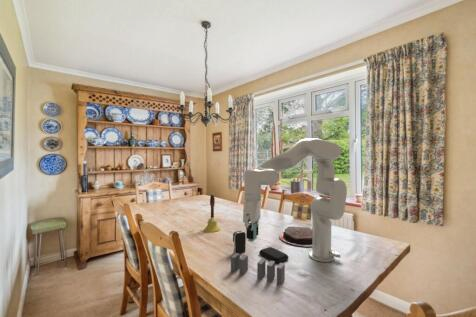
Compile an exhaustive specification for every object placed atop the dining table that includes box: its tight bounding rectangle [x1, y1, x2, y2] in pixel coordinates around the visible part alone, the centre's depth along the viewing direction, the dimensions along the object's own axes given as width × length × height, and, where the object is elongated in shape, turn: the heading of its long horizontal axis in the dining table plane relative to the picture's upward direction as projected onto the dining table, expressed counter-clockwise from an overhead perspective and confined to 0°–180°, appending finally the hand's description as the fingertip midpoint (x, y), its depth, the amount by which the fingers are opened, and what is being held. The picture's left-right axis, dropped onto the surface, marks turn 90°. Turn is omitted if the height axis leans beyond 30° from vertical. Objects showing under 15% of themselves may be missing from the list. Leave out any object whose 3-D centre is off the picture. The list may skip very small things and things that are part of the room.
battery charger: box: [232, 230, 247, 254], centre depth 130 cm, size 7×4×11 cm, turn 122°
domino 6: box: [276, 262, 286, 286], centre depth 100 cm, size 2×5×7 cm, turn 153°
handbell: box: [203, 194, 222, 234], centre depth 167 cm, size 12×12×25 cm
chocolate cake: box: [278, 226, 312, 248], centre depth 150 cm, size 28×28×7 cm
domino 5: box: [266, 260, 276, 283], centre depth 102 cm, size 2×5×7 cm, turn 153°
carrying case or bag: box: [259, 246, 289, 264], centre depth 124 cm, size 11×3×15 cm
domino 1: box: [230, 253, 241, 274], centre depth 109 cm, size 2×5×7 cm, turn 153°
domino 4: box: [256, 258, 267, 281], centre depth 103 cm, size 2×5×7 cm, turn 153°
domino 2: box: [238, 254, 249, 276], centre depth 107 cm, size 2×5×7 cm, turn 153°
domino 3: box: [247, 223, 258, 243], centre depth 105 cm, size 2×5×7 cm, turn 153°
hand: (252, 236), depth 105 cm, fingers closed on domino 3, 4 cm apart
